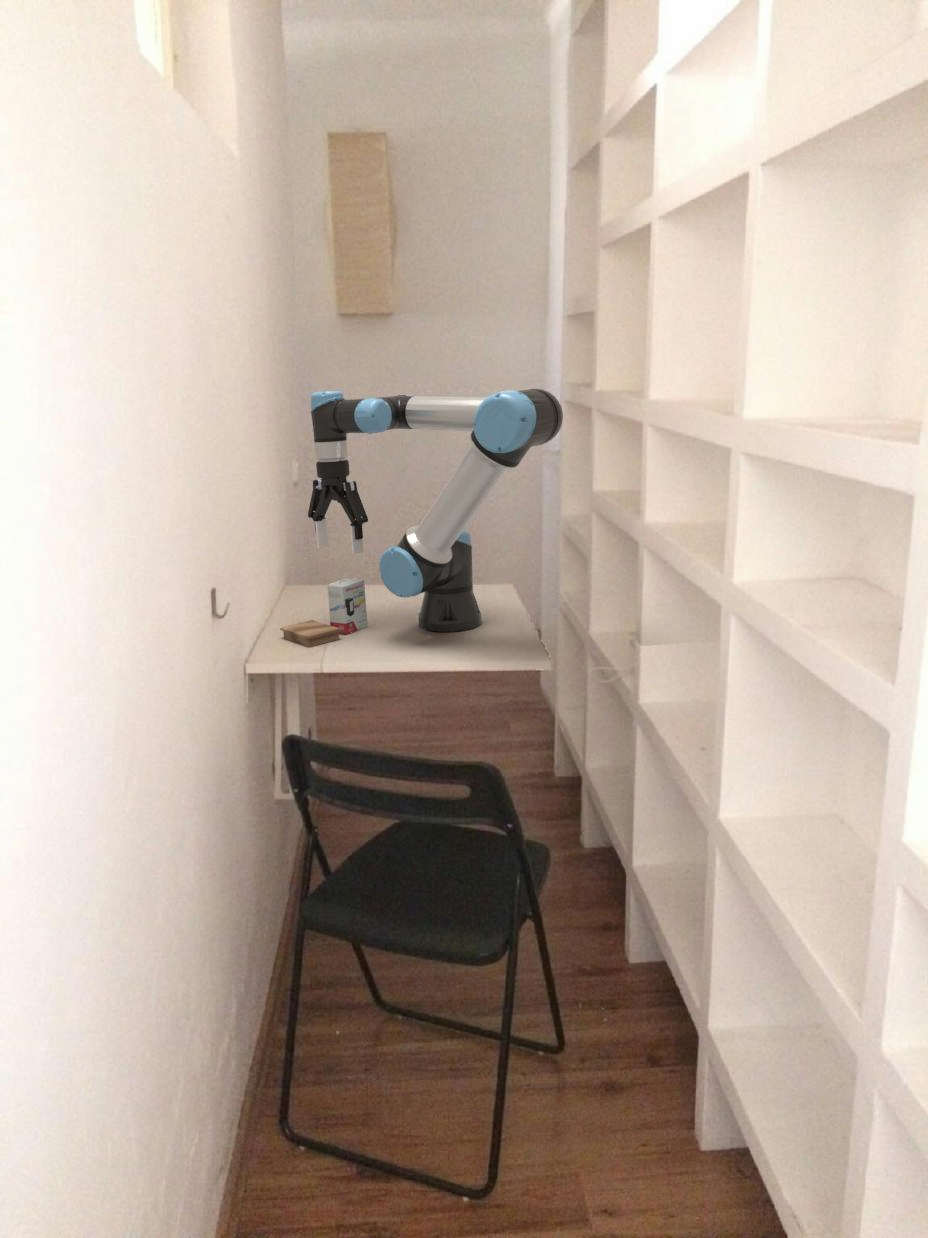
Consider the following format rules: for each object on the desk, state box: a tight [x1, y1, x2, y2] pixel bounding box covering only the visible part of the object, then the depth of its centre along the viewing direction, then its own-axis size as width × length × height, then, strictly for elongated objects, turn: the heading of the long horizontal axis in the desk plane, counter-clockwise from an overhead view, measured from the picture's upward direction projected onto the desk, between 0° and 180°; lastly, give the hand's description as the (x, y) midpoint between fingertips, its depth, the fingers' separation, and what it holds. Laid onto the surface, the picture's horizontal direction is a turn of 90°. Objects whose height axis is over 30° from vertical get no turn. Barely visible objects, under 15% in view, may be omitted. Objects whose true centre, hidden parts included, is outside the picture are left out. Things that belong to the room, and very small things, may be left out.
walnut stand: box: [279, 619, 342, 648], centre depth 225 cm, size 12×9×2 cm
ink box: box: [327, 577, 368, 636], centre depth 230 cm, size 9×5×12 cm, turn 148°
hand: (340, 550), depth 229 cm, fingers open, 13 cm apart
